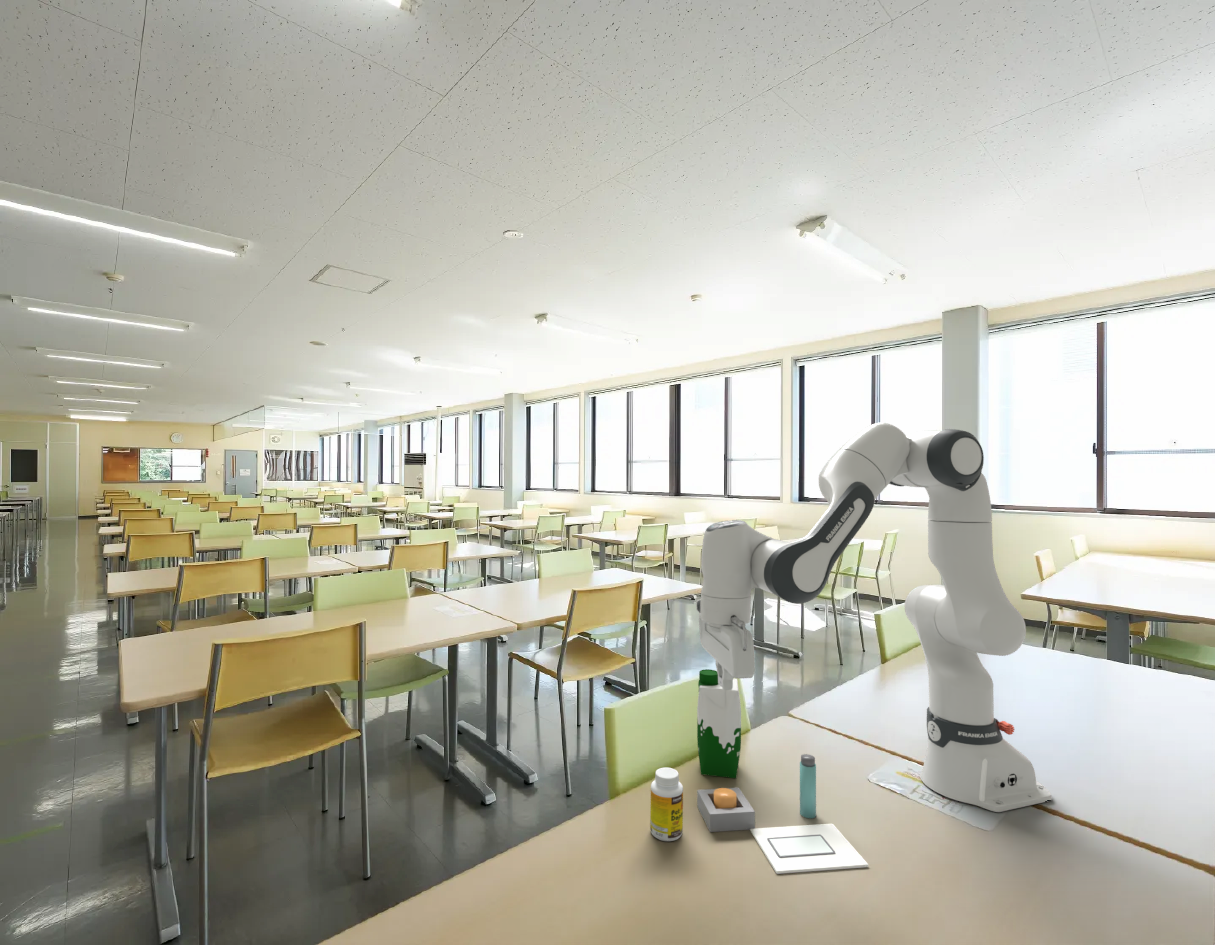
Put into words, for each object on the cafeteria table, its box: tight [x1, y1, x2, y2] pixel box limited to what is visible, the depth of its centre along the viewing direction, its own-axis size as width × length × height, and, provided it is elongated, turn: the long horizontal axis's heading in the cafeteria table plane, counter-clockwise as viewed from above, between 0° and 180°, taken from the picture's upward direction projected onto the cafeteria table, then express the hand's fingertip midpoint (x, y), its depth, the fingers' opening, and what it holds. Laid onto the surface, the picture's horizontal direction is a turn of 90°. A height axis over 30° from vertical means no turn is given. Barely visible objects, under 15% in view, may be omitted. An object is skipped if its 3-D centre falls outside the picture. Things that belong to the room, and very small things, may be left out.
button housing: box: [696, 787, 756, 833], centre depth 103 cm, size 8×8×3 cm
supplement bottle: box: [649, 766, 684, 842], centre depth 98 cm, size 6×6×10 cm
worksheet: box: [749, 823, 869, 875], centre depth 94 cm, size 15×11×1 cm
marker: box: [799, 753, 817, 819], centre depth 104 cm, size 3×3×10 cm
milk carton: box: [696, 669, 742, 779], centre depth 121 cm, size 9×9×20 cm
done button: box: [714, 787, 737, 809], centre depth 103 cm, size 4×4×3 cm
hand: (725, 687), depth 104 cm, fingers closed
